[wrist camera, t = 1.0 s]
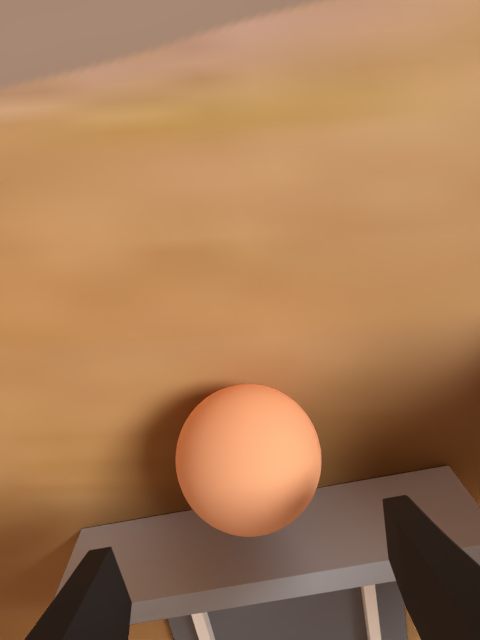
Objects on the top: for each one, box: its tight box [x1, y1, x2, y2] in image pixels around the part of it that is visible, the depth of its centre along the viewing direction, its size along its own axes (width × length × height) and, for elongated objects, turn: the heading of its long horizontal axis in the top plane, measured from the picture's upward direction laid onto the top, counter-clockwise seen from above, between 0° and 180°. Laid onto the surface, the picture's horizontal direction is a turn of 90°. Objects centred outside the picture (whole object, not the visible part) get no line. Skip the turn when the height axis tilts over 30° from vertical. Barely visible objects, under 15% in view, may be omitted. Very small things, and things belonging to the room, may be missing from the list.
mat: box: [167, 581, 407, 640], centre depth 21 cm, size 11×9×1 cm
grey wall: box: [53, 465, 480, 625], centre depth 17 cm, size 16×1×4 cm, turn 101°
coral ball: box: [175, 384, 322, 537], centre depth 15 cm, size 5×5×5 cm
